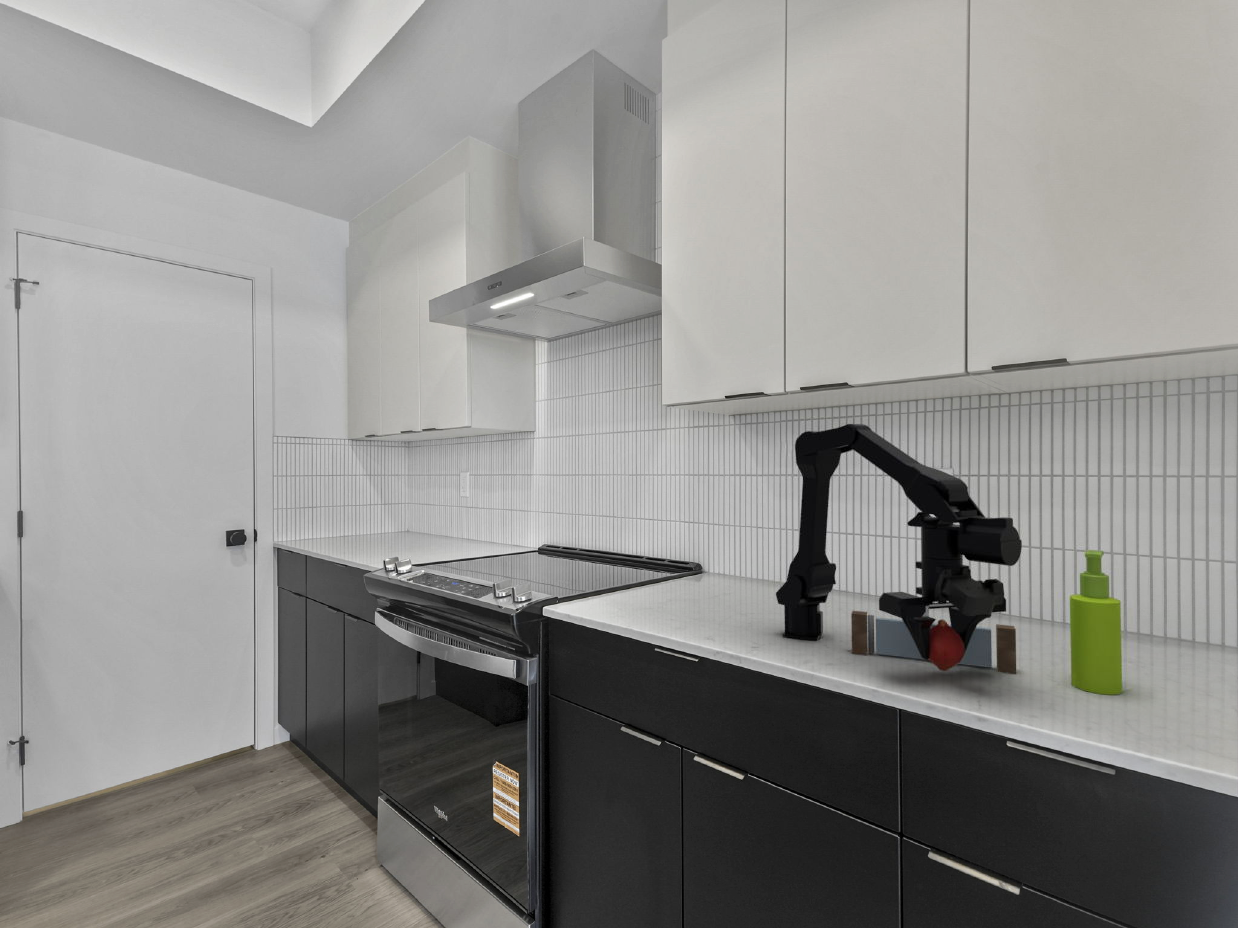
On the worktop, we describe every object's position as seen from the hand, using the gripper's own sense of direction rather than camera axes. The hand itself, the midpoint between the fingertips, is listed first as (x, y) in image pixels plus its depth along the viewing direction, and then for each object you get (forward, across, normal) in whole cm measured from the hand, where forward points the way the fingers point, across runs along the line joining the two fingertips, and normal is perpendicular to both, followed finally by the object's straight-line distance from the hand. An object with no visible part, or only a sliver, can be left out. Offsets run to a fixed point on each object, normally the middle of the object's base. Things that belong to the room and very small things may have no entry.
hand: (942, 657), depth 94 cm
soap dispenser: (+3, +19, -9) cm, 21 cm away
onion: (+2, 0, 0) cm, 2 cm away
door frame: (+3, +3, +7) cm, 8 cm away
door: (+3, +3, +7) cm, 9 cm away
